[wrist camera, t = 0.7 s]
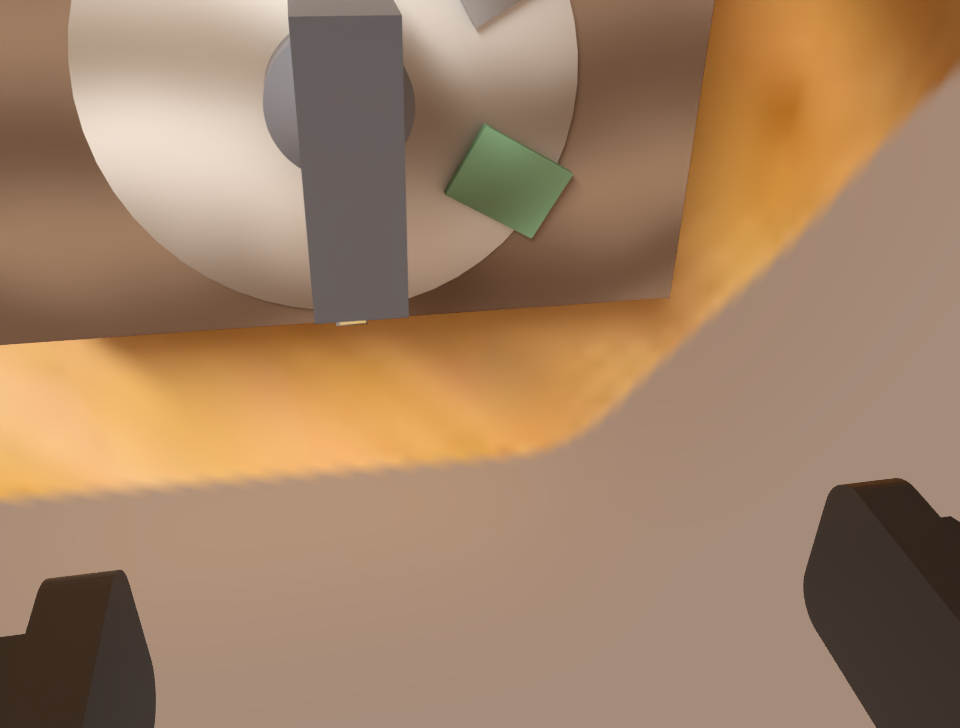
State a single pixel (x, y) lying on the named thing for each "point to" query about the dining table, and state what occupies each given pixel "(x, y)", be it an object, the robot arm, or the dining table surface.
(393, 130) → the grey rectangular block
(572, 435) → the dining table surface
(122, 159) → the tuner box
